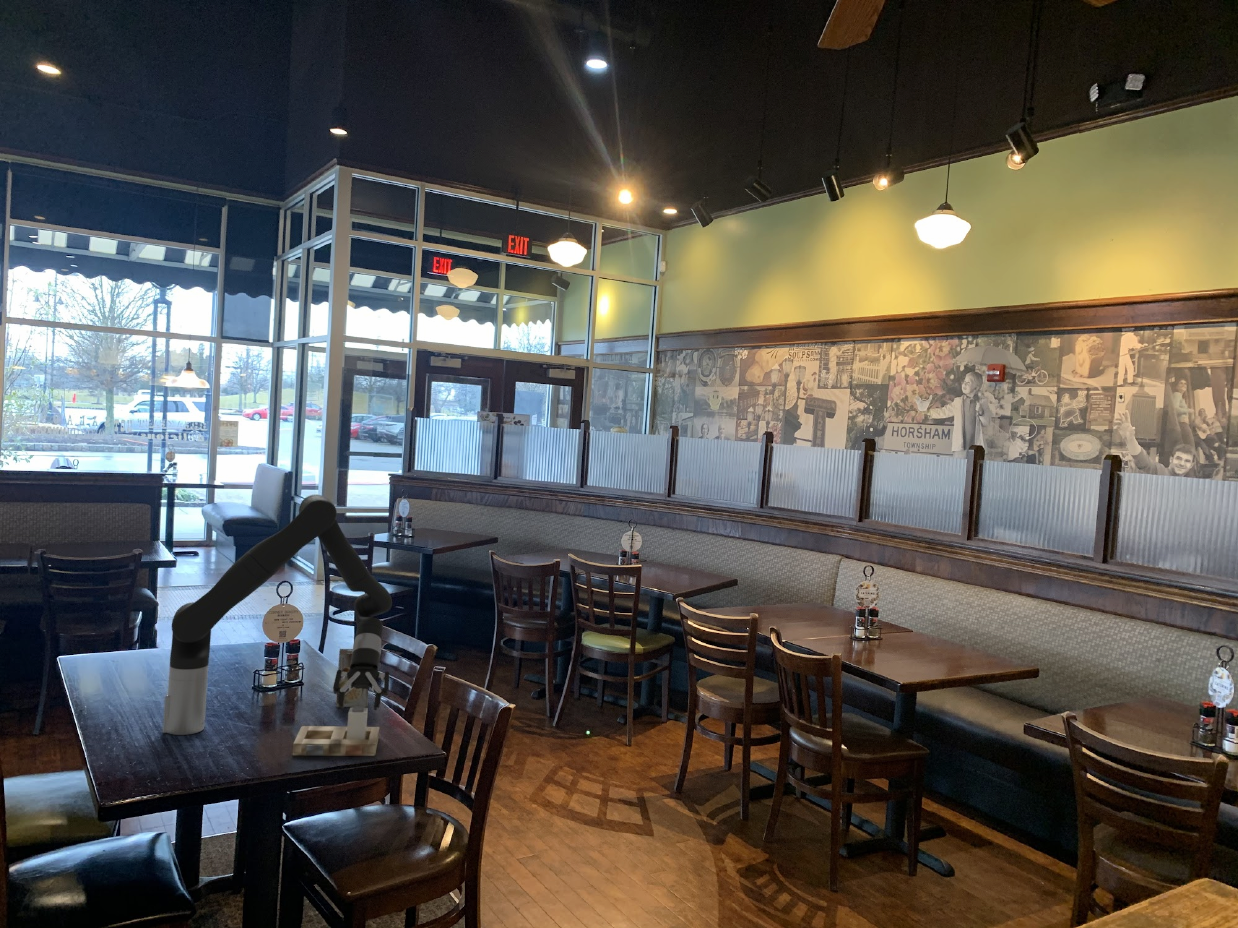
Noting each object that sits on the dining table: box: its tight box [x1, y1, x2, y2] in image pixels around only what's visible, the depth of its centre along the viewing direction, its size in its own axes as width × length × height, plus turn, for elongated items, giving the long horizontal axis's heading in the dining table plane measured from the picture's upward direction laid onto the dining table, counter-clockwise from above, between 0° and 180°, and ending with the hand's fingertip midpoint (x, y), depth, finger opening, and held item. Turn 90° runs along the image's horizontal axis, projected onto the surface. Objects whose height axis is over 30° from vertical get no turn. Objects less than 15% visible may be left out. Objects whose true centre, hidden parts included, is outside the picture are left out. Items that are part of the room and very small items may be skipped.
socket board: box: [292, 725, 380, 757], centre depth 226 cm, size 20×14×3 cm
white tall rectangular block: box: [346, 706, 369, 740], centre depth 227 cm, size 4×4×10 cm
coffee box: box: [335, 648, 369, 708], centre depth 261 cm, size 9×6×16 cm
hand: (358, 707), depth 228 cm, fingers open, 8 cm apart
